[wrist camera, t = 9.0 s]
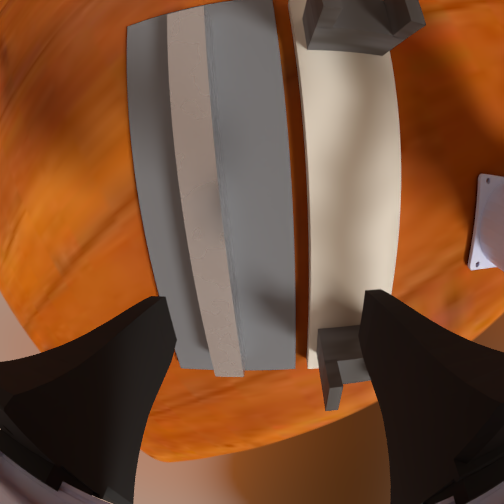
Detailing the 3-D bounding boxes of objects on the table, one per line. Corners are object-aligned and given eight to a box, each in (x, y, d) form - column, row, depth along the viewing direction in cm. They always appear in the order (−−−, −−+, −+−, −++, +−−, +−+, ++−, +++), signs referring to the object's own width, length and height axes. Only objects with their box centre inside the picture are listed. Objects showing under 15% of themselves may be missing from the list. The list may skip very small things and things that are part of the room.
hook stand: (373, 12, 12) (413, -34, 5) (373, 352, 21) (396, 413, 15) (287, 5, 12) (294, -54, 6) (306, 359, 22) (313, 426, 15)
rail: (211, 20, 12) (203, 5, 10) (246, 357, 21) (243, 376, 19) (178, 27, 13) (167, 14, 11) (220, 357, 22) (215, 376, 20)
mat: (271, 1, 12) (271, -3, 12) (294, 363, 22) (295, 368, 22) (131, 29, 13) (127, 26, 12) (182, 363, 23) (181, 367, 22)
